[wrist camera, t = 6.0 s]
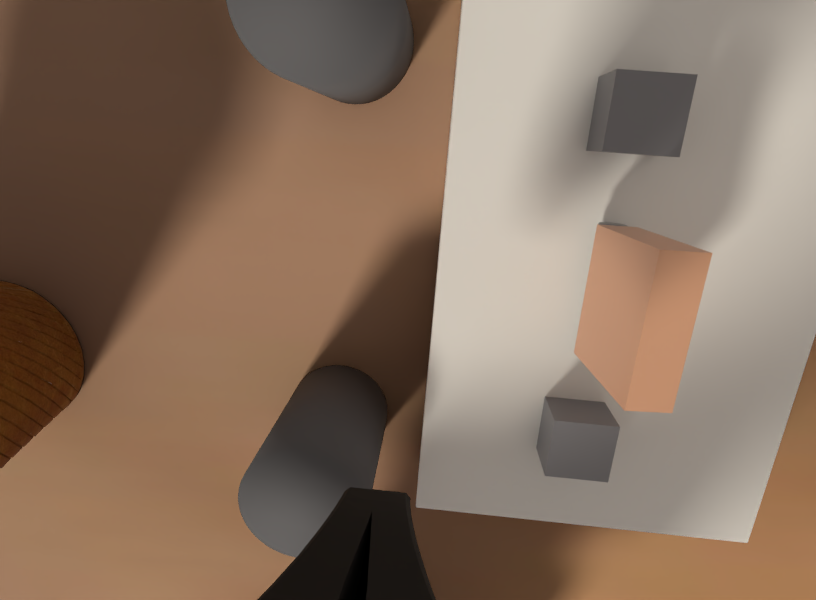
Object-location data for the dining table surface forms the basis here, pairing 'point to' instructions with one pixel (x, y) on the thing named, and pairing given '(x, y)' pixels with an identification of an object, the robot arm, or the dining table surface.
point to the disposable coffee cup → (33, 366)
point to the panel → (573, 243)
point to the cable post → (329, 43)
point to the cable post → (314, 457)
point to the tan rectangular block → (640, 314)
